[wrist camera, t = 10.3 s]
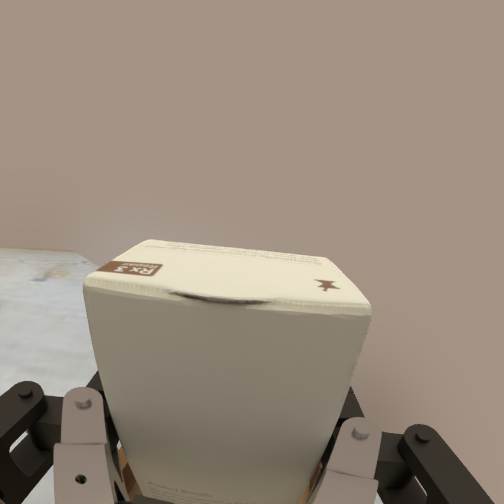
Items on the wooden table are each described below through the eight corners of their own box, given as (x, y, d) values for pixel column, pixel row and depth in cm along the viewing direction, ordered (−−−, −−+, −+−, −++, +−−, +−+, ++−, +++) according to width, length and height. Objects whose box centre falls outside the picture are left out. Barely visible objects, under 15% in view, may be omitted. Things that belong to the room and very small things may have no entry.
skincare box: (278, 470, 12) (334, 251, 9) (282, 538, 8) (390, 304, 5) (164, 457, 12) (150, 232, 9) (145, 521, 8) (75, 269, 5)
